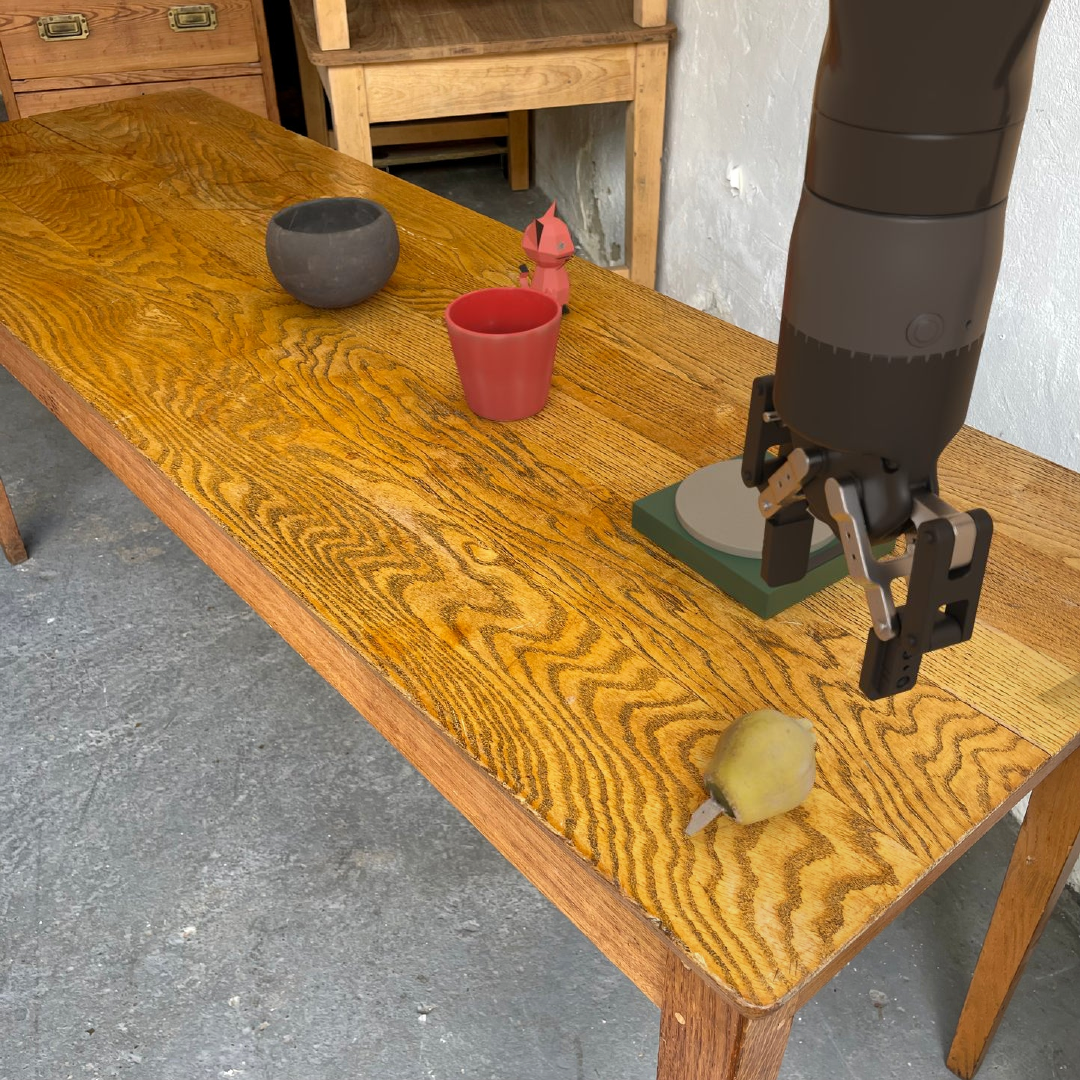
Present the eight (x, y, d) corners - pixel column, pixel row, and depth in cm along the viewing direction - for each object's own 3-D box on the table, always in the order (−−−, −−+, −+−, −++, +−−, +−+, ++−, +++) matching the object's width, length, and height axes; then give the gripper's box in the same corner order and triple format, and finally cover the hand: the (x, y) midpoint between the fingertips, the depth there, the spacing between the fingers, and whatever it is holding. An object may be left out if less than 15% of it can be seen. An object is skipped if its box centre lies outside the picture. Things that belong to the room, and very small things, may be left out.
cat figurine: (565, 332, 119) (564, 223, 112) (507, 323, 122) (502, 216, 115) (587, 306, 125) (587, 201, 118) (531, 299, 127) (528, 195, 120)
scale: (894, 550, 86) (901, 516, 84) (765, 620, 79) (769, 585, 77) (756, 469, 96) (759, 437, 94) (631, 526, 89) (632, 493, 87)
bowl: (316, 337, 120) (302, 248, 114) (253, 297, 130) (237, 213, 124) (429, 300, 127) (422, 215, 122) (362, 264, 137) (352, 184, 131)
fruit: (647, 816, 65) (751, 713, 70) (726, 889, 63) (828, 777, 67) (664, 774, 60) (774, 666, 65) (750, 852, 58) (857, 734, 63)
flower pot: (585, 409, 105) (585, 314, 100) (484, 441, 101) (478, 344, 95) (529, 367, 113) (525, 277, 107) (432, 396, 108) (424, 303, 103)
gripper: (1102, 365, 37) (998, 713, 47) (862, 229, 48) (817, 533, 58) (913, 407, 35) (844, 761, 45) (708, 255, 46) (687, 565, 56)
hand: (829, 632), depth 51 cm, fingers open, 8 cm apart
